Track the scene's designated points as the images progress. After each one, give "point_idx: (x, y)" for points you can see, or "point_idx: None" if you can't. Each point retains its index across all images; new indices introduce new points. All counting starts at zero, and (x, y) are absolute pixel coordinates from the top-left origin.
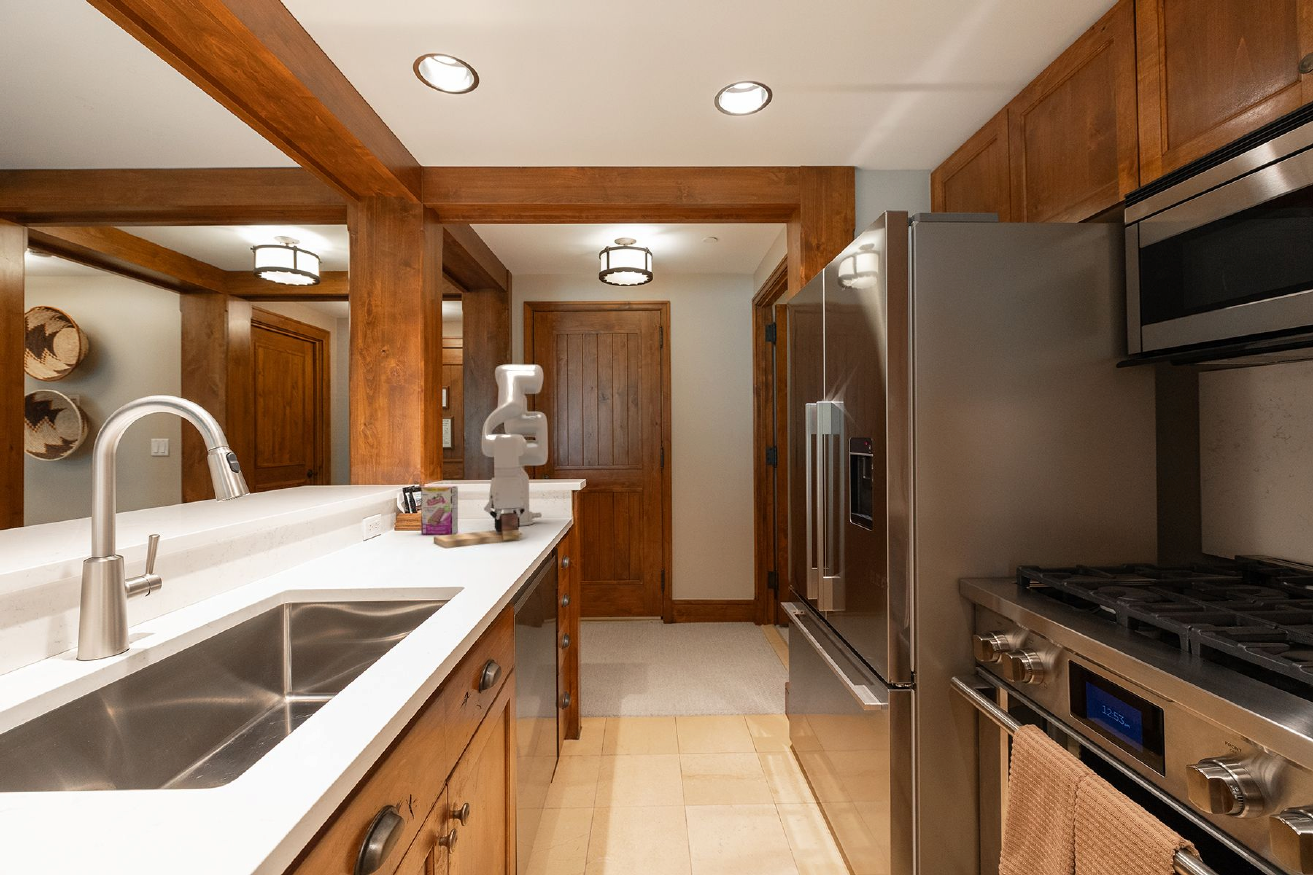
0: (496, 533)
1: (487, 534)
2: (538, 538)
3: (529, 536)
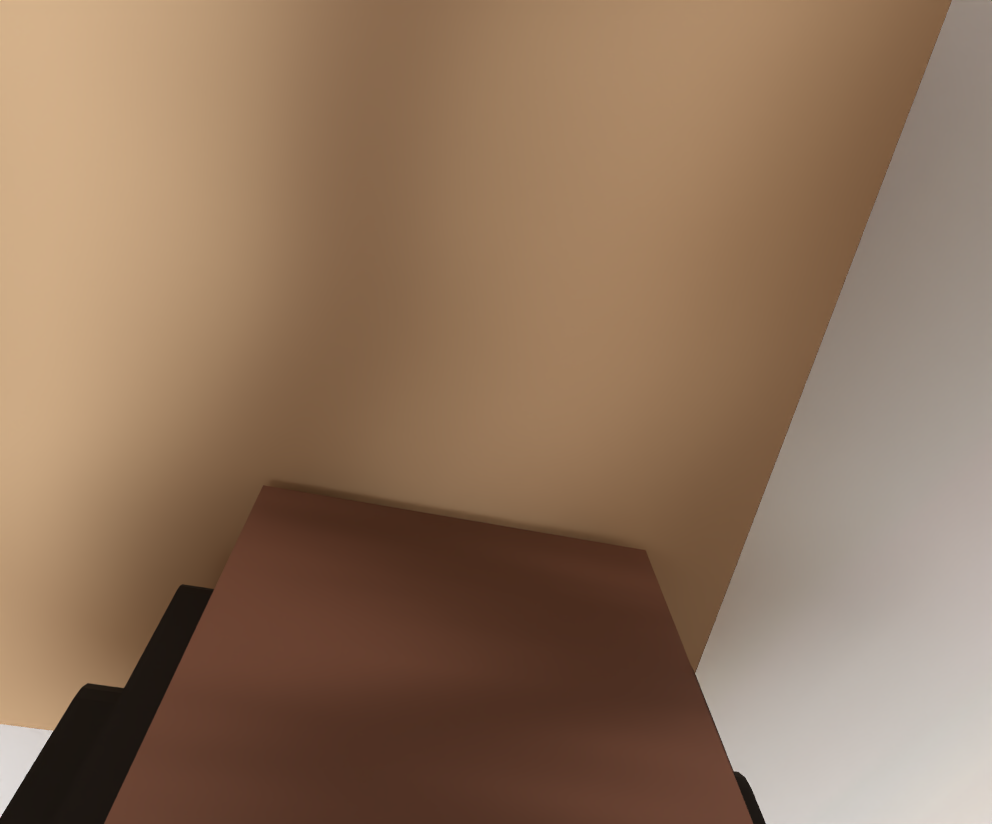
0: (262, 469)
1: (17, 430)
2: (848, 808)
3: (944, 559)
